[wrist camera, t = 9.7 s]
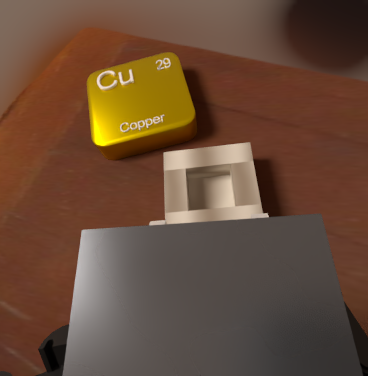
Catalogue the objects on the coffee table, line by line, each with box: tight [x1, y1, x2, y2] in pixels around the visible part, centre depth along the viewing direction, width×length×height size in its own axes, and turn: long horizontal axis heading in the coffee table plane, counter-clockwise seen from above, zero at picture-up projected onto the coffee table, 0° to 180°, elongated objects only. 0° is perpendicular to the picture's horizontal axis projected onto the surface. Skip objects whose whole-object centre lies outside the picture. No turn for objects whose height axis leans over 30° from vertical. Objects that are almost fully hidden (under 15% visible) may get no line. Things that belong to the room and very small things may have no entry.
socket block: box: [164, 142, 263, 224], centre depth 34 cm, size 11×11×4 cm
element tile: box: [87, 53, 198, 160], centre depth 42 cm, size 15×15×5 cm
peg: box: [63, 214, 363, 376], centre depth 10 cm, size 4×4×14 cm
